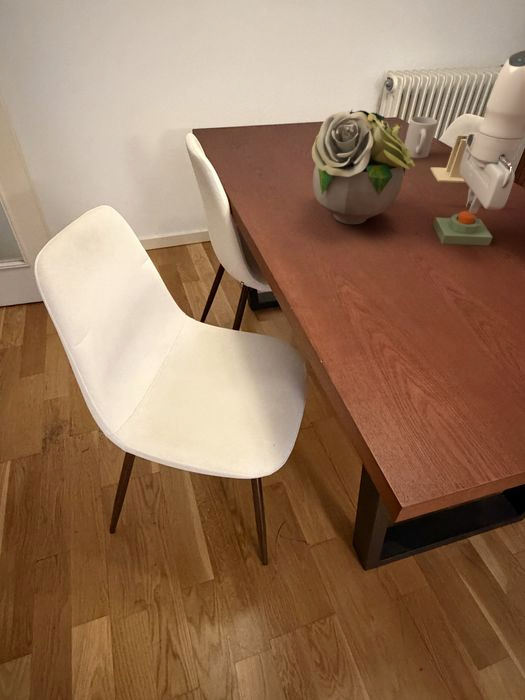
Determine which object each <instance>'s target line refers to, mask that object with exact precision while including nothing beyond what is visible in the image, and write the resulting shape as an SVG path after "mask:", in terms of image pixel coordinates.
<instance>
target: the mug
mask: <svg viewBox="0 0 525 700" xmlns="http://www.w3.org/2000/svg"><path fill="white" fill-rule="evenodd" d="M437 126H438V120H437V119H435V118H433V117H429V116H413V117H411V118H410V120H409V123H408V128H407V131H406V135H405V140H404V144H405V147H406V148H407V150H409V151H410V152H411V153H412V155H411V157H410V158H414V159H423V158H424V159H425V158H428V156H429V154H430V150H431V147H432V143H433V139H434V136H435V134H436V133H435V132H436V130H437Z"/></svg>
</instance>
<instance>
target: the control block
mask: <svg viewBox="0 0 525 700" xmlns="http://www.w3.org/2000/svg"><path fill="white" fill-rule="evenodd" d="M459 214H460V213H455V214H453V215H452V216H451V217H437V216H436V217H435V216H434V217H435V218H434V221H433V223H432V227H433V229H434V231H435V233H436V234H437V237H438V238H439V241H440V243H441V244H443V245H465V246H467V245H469V246H490V244H491V243H492V239H493V236H492V234H491V233H490V231H489V229H487V227H486V226H485V224H484V223H483V221H482V219H480V218H477V217H476V218H475V220H474V223H473V224H463V223H461V222H459V221H458V217H459Z"/></svg>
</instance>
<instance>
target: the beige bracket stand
mask: <svg viewBox="0 0 525 700" xmlns="http://www.w3.org/2000/svg"><path fill="white" fill-rule="evenodd" d="M467 136H468V134H456V137H455V140H454V143H453V145H452V149H451V152H450V155H449V159H448V161H447V164H446V167H437V166H436V167H434V166H433V167H430V171H431V173H432V174H433V176H434V178H435V179H436V181H437V182H438V183H451V184H467V183H466V182H465V181H464V179H463V178H462V177H461V175H460V173H459V170H460V164H461V160H462V157H463V153H464V150H465V148H466V146H467V144H466V139H462V138H463V137H466V138H467ZM459 142H460V144H459V145H458V143H459Z"/></svg>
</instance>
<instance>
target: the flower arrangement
mask: <svg viewBox="0 0 525 700" xmlns="http://www.w3.org/2000/svg"><path fill="white" fill-rule="evenodd" d="M384 120H385V116H383V115H381V114H378V112H368V111H366V110H357V111H353V109H350V110H344V111H341V112H337V113H334V114H331V115H330V116H328V117H326V118H325V119H324V121H323V122H322V123H321V126H320V129H319V132H318V134H317V135H316V136H315V140H314V142H313V145H312V148H311V157H312V160H313V162H314V164H315V166H314V170H313V175H312V190H313V194H314V197H315V199H316V200H317V202H318V203H319V205H321V206H322V208H324V210H326V211H327V212H329V213H331V214H332V215H333V217H334V219H335V220H336V221H338V222H339V223H342V224H345V225H360V224H363V223H364V222H366V221H367V220H368V219H370V218H373V217H375V216H377V215H380V214H381V213H383V212H386V211H387V210H388V209H389V208H390V207H391V206H392V205H393V204H394V202H395V201H396V199H397V198H398V196H399V194H400V192H401V188H402V184H403V180H404V175H406V170H410V165H411V166H412V167H413V168H414V167H416V164H415V162H414V160H413V159H412V157H411V155H412V153H411V152H410V151H409V150H407V148H406V147H405V142H403V141H402V140H401V138H400V137H399V135H398V134H399V130H400V129H401V126H399V124H398V123H395V124H394V125H393V127H391V126H390V125H389V123H388V122H387V121H386V120H385V121H384Z"/></svg>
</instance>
